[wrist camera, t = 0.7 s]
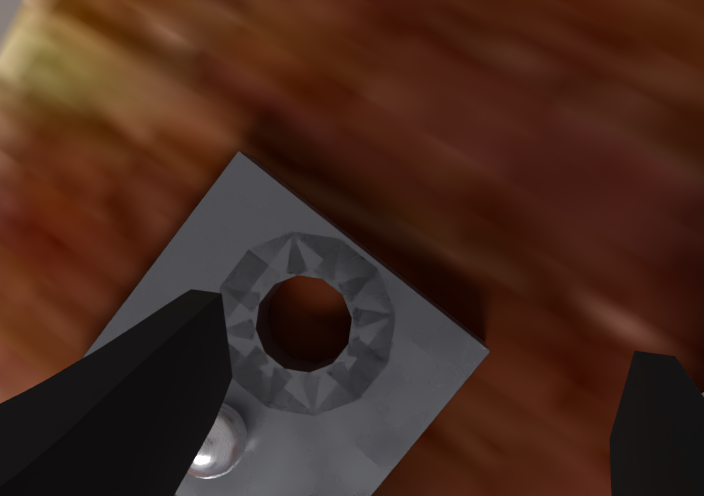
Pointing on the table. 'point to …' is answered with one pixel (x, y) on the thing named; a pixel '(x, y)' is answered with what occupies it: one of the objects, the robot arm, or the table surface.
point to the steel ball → (221, 446)
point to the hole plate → (300, 375)
